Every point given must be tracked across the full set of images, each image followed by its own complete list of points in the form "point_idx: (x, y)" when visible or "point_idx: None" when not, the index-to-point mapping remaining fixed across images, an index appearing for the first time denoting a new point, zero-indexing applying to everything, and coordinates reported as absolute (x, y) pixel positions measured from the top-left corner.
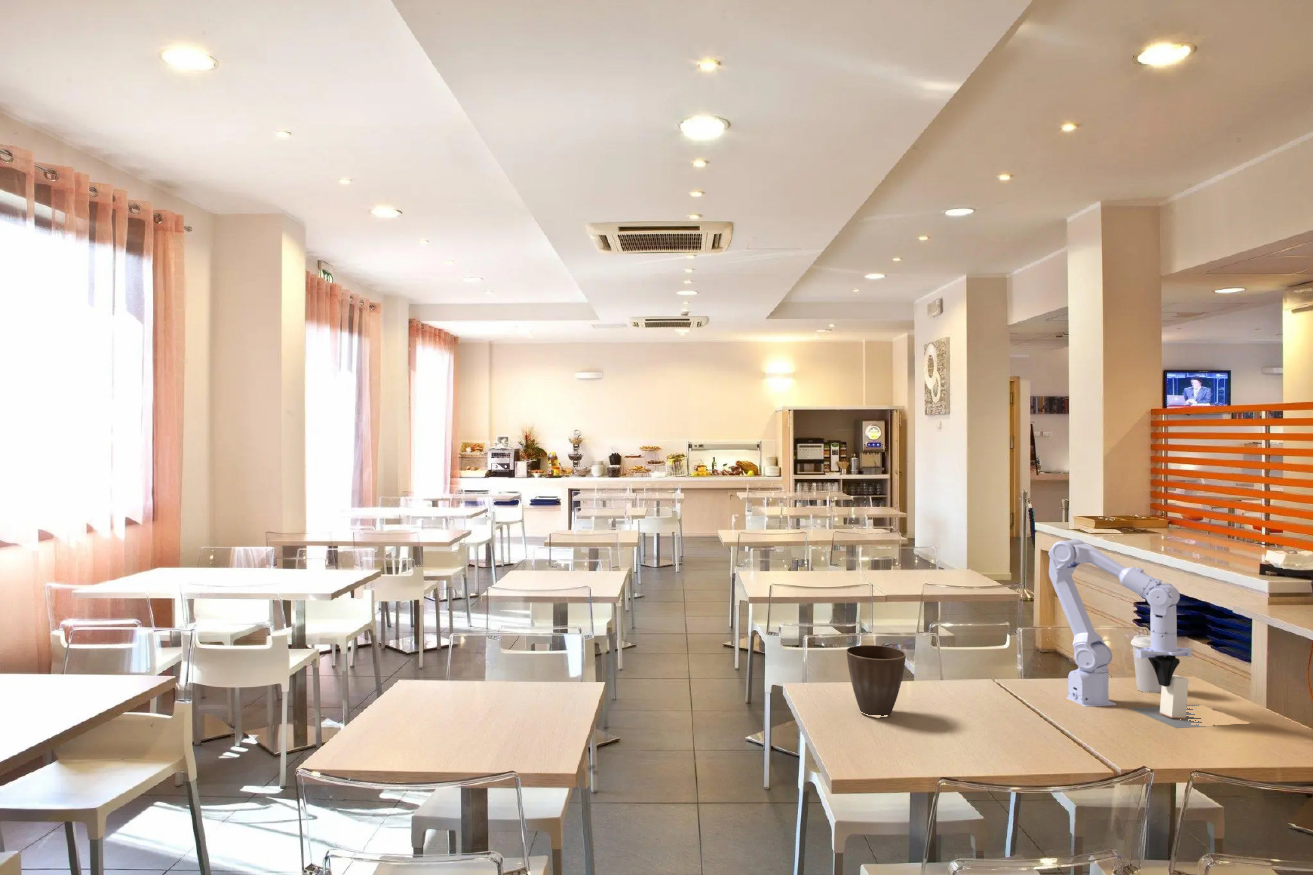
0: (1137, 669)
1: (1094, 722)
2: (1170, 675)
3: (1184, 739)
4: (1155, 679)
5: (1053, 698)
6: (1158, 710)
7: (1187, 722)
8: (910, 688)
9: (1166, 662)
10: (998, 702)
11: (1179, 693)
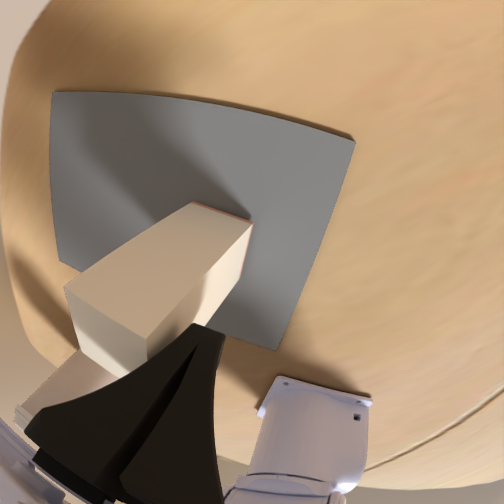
0: None
1: (493, 325)
2: (162, 370)
3: (444, 61)
4: (86, 373)
5: None
6: None
7: (229, 167)
8: (461, 476)
9: (181, 500)
10: (461, 442)
11: (165, 262)
